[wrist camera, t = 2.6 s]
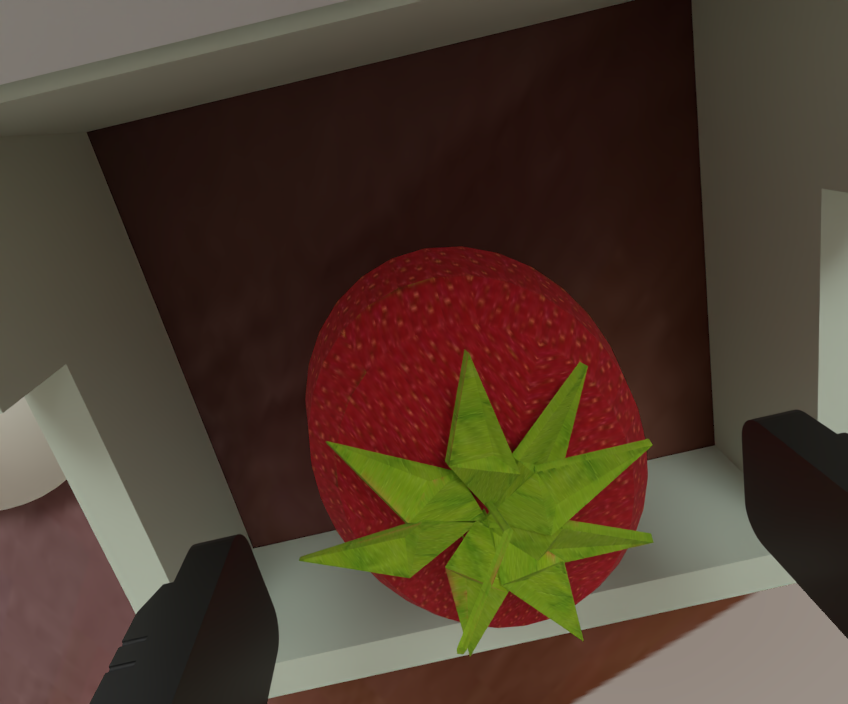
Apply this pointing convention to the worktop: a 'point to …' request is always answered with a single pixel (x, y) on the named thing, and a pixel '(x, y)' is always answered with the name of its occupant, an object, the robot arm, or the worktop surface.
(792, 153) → the cold frame
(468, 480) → the strawberry
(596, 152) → the worktop surface
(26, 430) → the cream white rounded part
